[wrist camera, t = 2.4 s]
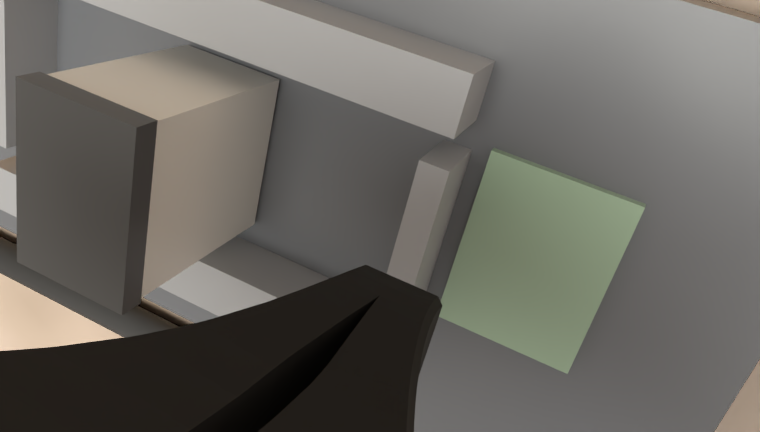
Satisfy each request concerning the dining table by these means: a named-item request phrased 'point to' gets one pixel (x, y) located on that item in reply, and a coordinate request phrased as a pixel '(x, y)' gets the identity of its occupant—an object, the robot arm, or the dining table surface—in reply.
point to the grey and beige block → (137, 168)
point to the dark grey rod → (79, 299)
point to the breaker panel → (484, 186)
